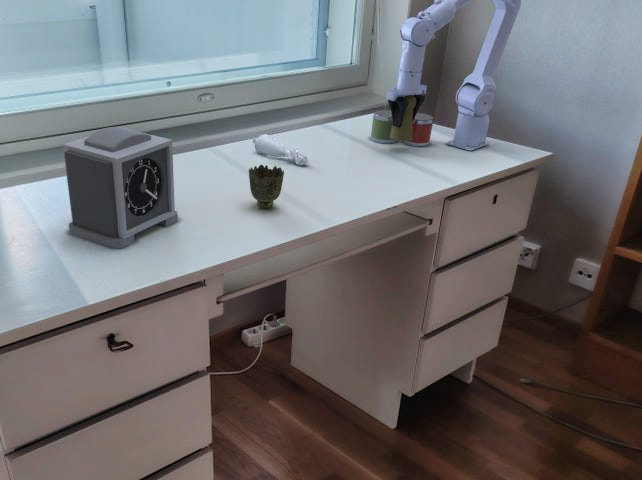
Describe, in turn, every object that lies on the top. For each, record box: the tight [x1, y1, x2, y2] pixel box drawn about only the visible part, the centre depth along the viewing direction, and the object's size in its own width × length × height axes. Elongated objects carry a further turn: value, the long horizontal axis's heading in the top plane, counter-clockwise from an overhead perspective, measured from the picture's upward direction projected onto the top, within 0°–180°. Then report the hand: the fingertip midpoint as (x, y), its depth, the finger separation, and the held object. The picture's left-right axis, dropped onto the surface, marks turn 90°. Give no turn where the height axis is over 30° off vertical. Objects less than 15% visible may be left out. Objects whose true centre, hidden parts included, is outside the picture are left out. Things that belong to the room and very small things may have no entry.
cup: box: [248, 164, 285, 210], centre depth 145 cm, size 8×7×8 cm
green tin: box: [370, 109, 398, 144], centre depth 192 cm, size 8×8×7 cm
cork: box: [390, 95, 416, 142], centre depth 181 cm, size 6×6×11 cm
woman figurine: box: [252, 133, 309, 166], centre depth 175 cm, size 12×4×18 cm
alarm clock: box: [62, 126, 179, 250], centre depth 130 cm, size 18×13×18 cm
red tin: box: [402, 112, 434, 148], centre depth 191 cm, size 8×8×7 cm
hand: (402, 125), depth 182 cm, fingers closed on cork, 5 cm apart
